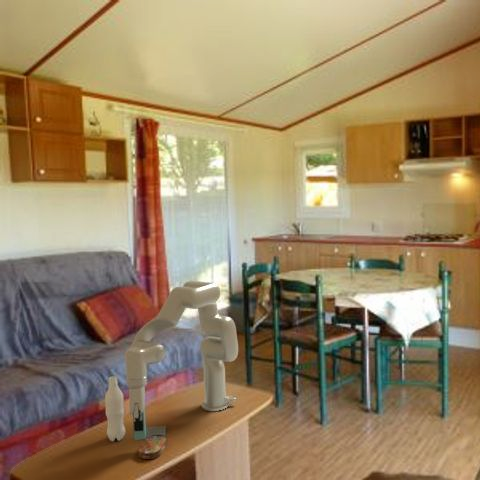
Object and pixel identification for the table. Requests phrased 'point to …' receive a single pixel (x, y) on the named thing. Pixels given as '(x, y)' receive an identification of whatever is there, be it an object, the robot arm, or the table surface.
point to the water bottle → (114, 410)
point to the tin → (152, 446)
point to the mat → (155, 431)
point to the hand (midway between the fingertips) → (139, 427)
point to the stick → (142, 434)
